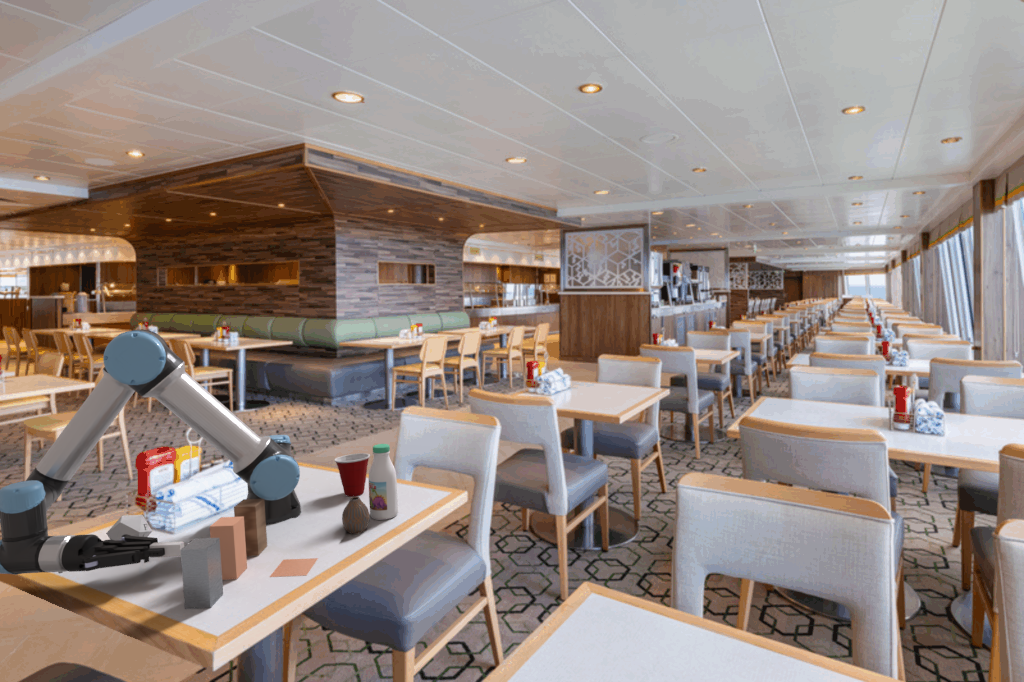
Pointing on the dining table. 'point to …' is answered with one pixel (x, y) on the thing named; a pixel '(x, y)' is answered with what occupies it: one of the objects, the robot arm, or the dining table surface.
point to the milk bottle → (382, 485)
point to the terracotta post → (231, 545)
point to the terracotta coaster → (294, 567)
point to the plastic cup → (353, 472)
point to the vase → (355, 516)
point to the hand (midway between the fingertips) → (182, 548)
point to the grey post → (201, 573)
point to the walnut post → (253, 524)
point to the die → (129, 527)
